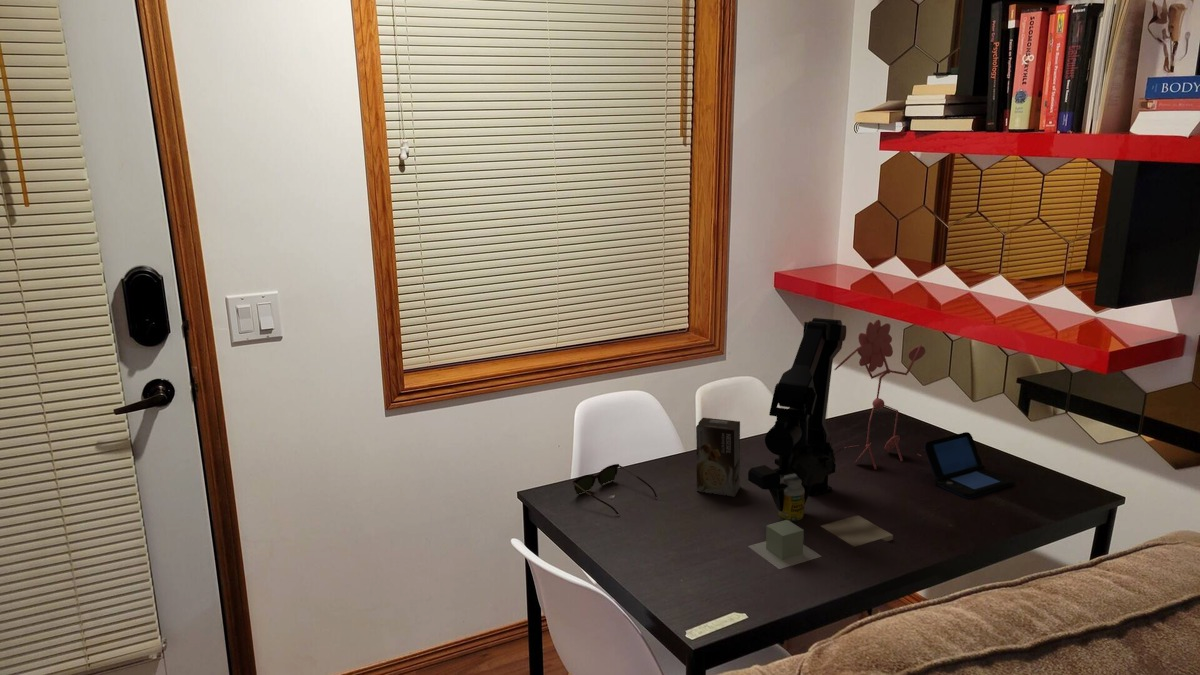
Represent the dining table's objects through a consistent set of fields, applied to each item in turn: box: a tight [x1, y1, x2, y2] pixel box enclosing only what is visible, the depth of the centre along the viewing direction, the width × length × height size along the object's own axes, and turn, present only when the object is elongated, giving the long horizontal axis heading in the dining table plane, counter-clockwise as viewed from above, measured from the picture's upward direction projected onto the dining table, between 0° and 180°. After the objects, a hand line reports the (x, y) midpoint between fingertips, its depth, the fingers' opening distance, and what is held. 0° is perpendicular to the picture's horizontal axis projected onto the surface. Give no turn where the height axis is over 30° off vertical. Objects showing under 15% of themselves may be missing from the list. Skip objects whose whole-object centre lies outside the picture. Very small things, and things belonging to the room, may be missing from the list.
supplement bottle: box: [777, 474, 805, 521], centre depth 178 cm, size 5×5×10 cm
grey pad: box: [747, 540, 823, 570], centre depth 164 cm, size 10×10×1 cm
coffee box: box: [695, 417, 741, 497], centre depth 193 cm, size 9×6×16 cm
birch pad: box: [820, 514, 894, 548], centre depth 172 cm, size 10×10×1 cm
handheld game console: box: [924, 431, 1013, 499], centre depth 194 cm, size 16×13×9 cm
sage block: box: [765, 519, 805, 560], centre depth 163 cm, size 5×5×5 cm
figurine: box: [833, 319, 926, 470], centre depth 207 cm, size 15×26×35 cm, turn 120°
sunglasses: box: [572, 463, 658, 515], centre depth 191 cm, size 14×15×5 cm
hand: (791, 507), depth 179 cm, fingers closed on supplement bottle, 5 cm apart
